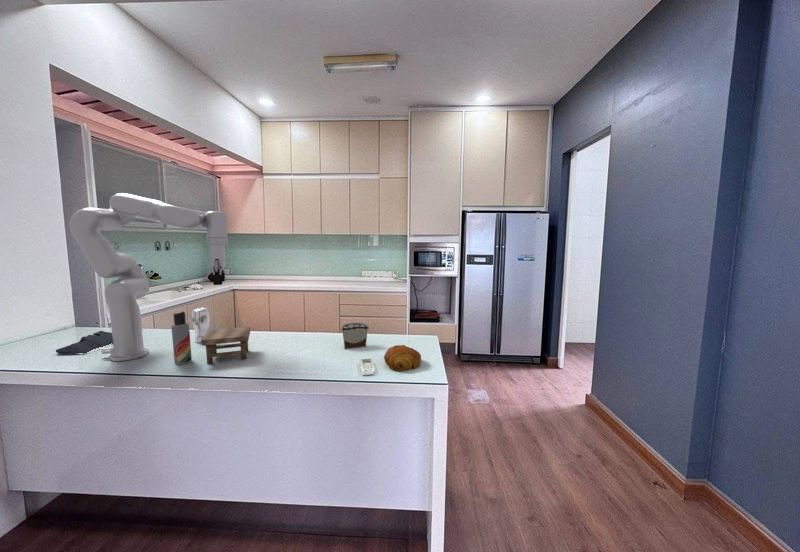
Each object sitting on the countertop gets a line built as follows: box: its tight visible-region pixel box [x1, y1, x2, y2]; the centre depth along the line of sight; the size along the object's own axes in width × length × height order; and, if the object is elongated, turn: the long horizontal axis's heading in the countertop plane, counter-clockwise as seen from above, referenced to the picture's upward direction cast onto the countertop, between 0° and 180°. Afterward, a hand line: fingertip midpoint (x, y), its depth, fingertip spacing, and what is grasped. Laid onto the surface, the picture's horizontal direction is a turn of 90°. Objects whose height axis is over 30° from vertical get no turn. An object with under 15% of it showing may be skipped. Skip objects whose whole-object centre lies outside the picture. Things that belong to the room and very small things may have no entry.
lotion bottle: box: [171, 311, 193, 365], centre depth 130 cm, size 6×6×20 cm
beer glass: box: [191, 307, 210, 344], centre depth 156 cm, size 7×7×15 cm
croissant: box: [383, 344, 422, 372], centre depth 130 cm, size 14×16×8 cm
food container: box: [340, 322, 370, 350], centre depth 151 cm, size 12×6×10 cm, turn 108°
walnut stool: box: [201, 326, 251, 365], centre depth 136 cm, size 16×14×10 cm
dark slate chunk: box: [55, 330, 113, 355], centre depth 149 cm, size 15×22×5 cm
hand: (219, 283), depth 140 cm, fingers open, 9 cm apart
